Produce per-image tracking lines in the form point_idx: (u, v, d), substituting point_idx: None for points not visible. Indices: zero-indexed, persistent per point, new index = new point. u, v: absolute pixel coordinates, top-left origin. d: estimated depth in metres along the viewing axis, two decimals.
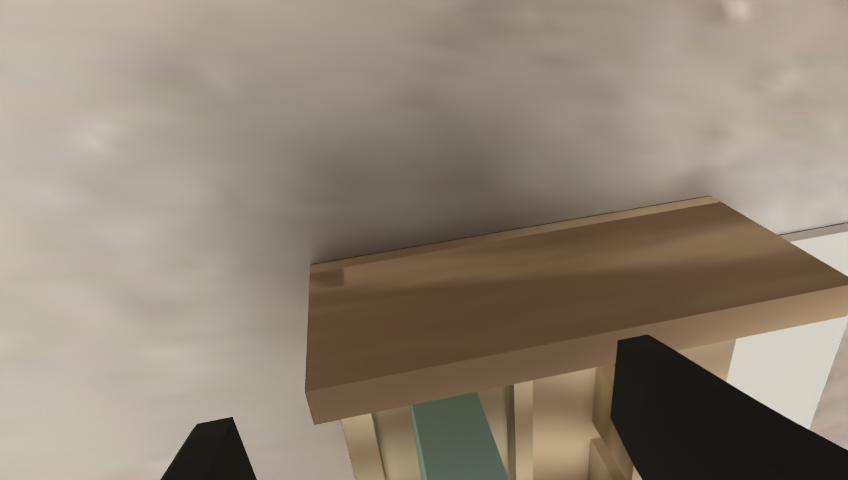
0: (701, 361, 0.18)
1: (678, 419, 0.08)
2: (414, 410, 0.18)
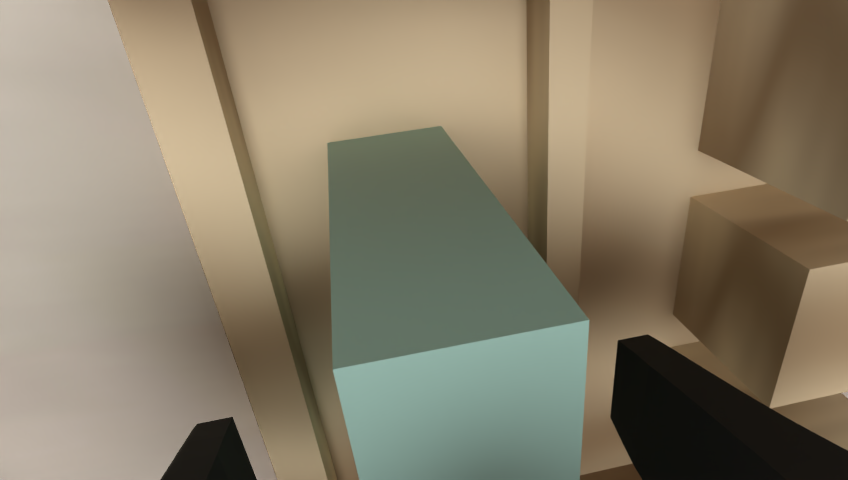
0: None
1: (678, 419, 0.08)
2: (331, 199, 0.08)
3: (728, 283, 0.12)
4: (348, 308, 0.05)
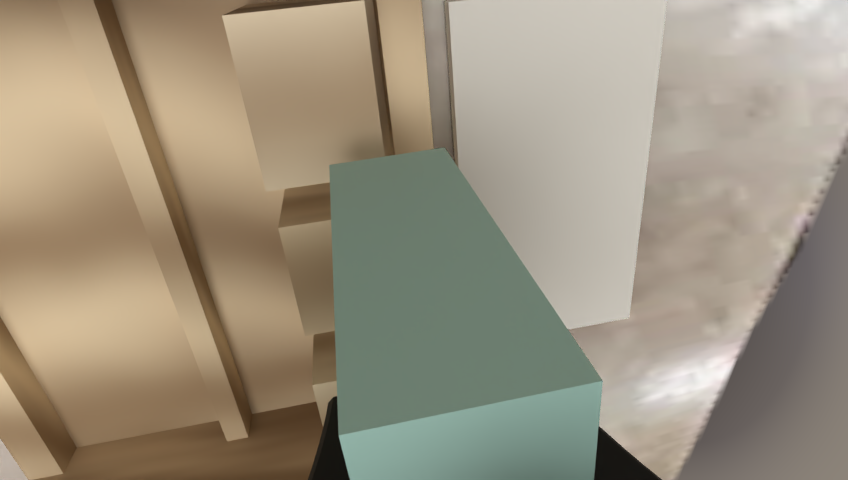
0: (325, 100, 0.12)
1: None
2: (334, 231, 0.08)
3: None
4: (354, 361, 0.05)
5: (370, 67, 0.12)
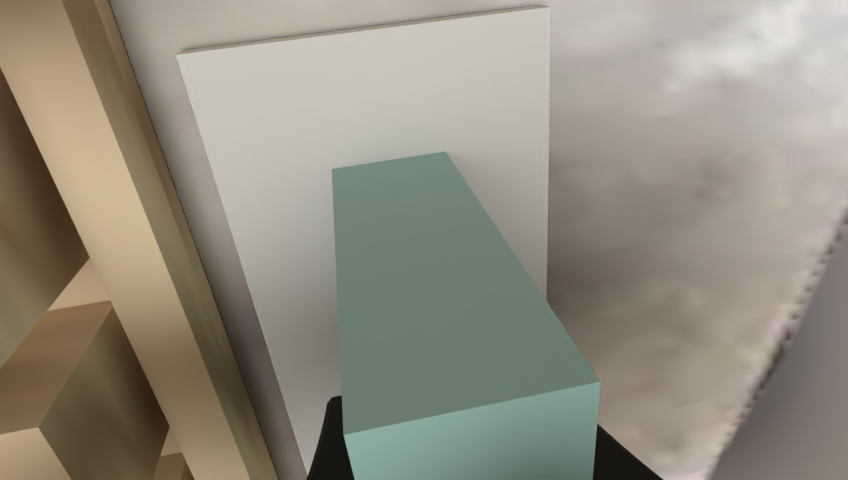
0: None
1: None
2: (337, 234, 0.08)
3: None
4: (357, 363, 0.05)
5: None
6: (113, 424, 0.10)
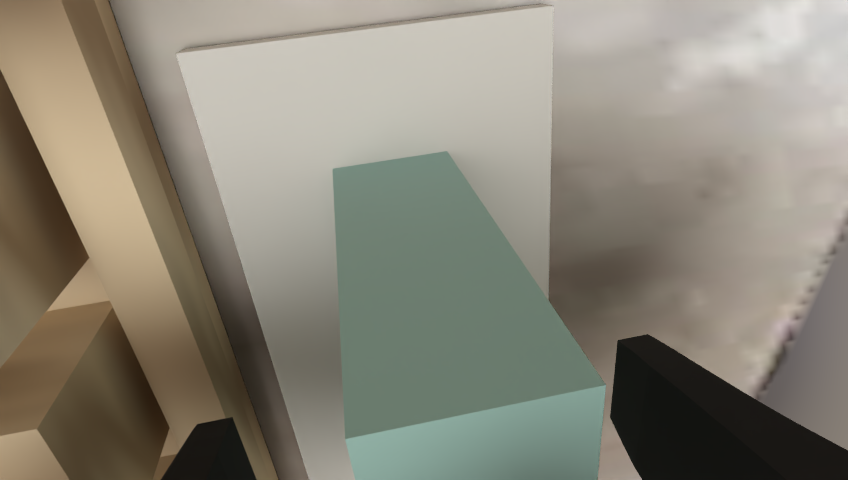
0: None
1: (678, 419, 0.08)
2: (338, 235, 0.08)
3: None
4: (359, 364, 0.05)
5: None
6: (112, 426, 0.10)
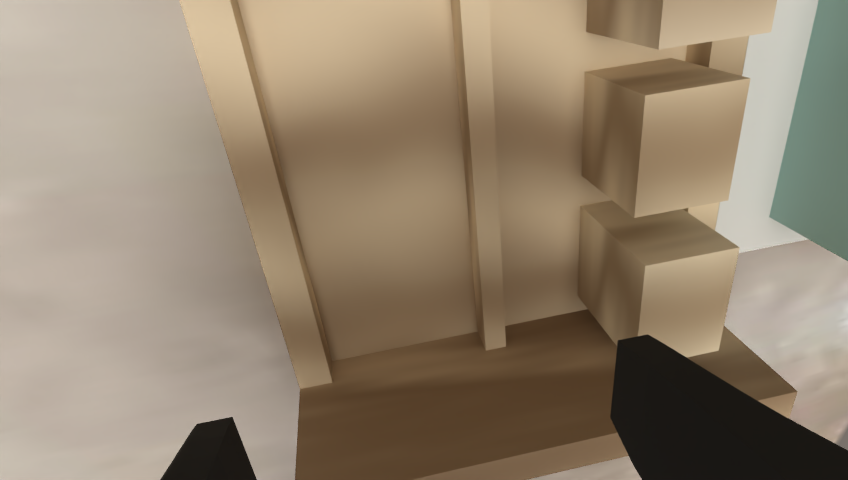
0: None
1: (678, 419, 0.08)
2: None
3: (608, 130, 0.16)
4: None
5: None
6: None
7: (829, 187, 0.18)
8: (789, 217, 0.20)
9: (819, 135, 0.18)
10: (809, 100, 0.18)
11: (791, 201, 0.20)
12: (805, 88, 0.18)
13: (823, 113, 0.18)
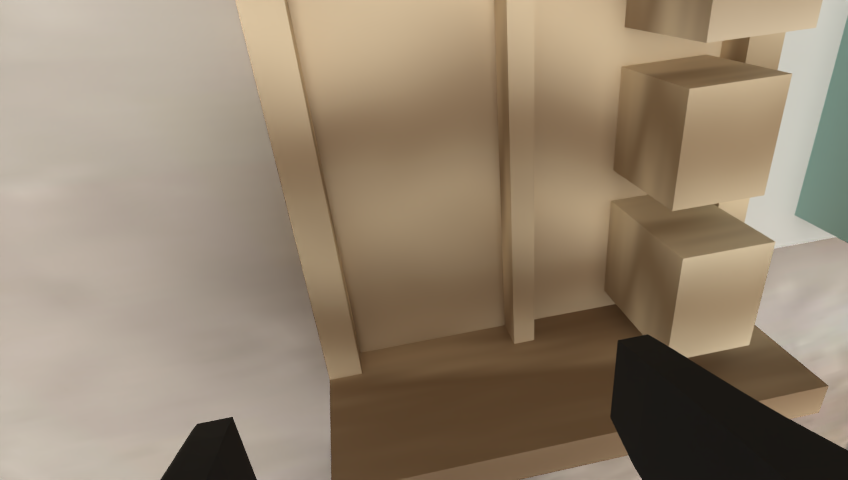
0: None
1: (678, 419, 0.08)
2: None
3: (645, 124, 0.16)
4: None
5: None
6: None
7: None
8: (816, 215, 0.20)
9: None
10: (839, 99, 0.18)
11: (818, 199, 0.20)
12: (835, 87, 0.18)
13: None
